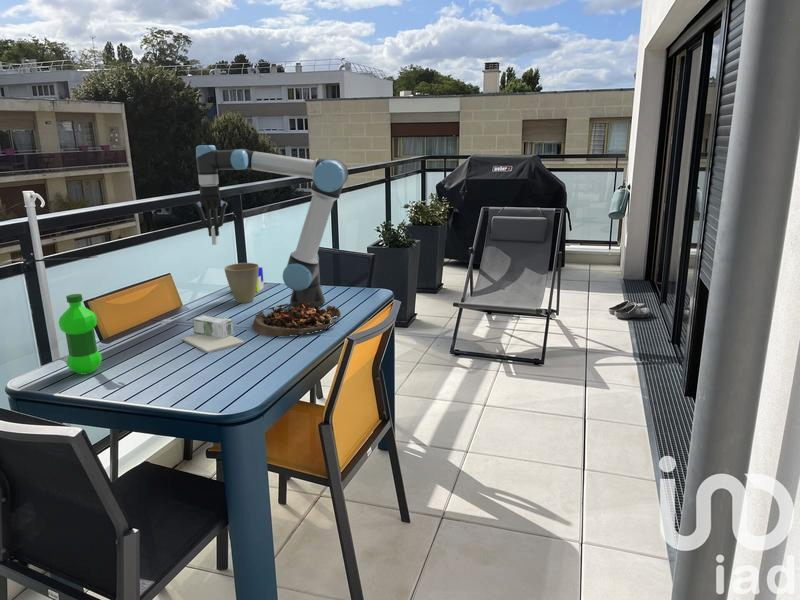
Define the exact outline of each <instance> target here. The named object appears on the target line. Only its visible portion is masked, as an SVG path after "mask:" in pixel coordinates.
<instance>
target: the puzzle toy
mask: <svg viewBox="0 0 800 600" xmlns="http://www.w3.org/2000/svg"><path fill="white" fill-rule="evenodd" d="M263 288H265V285H264V270H263V267H260V266H259V270H258V281H257V287H256V292H255V293H259V292H260V291H261V290H262V289H263Z"/></svg>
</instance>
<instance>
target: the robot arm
mask: <svg viewBox="0 0 800 600" xmlns="http://www.w3.org/2000/svg"><path fill="white" fill-rule="evenodd" d="M195 159H196V165H197V166H196V167H197V175H198V176H197V177H198V184H199V185H200V186H199V196H200V197H199V201H198V202H195V203H194V204H193V206H194V207H195V209H196V210H197V213H198V215H199V218H200V221H201V224H202V227H203V228H207V229H208V230H207V231H208V236H209V237H211V245H212V246H216V245H218V243H219V242H218V236H220V230H219V228H221V227H223V225H224V221H225V220H224V219H225V213H226V208H227V206H228V202H227V201H224V200H223V199H222V197H221V194H220V193H221V192H220V186H219V184H220V183H219V173H218V171H220V170H221V171H222V170H226V171H227V170H228V171H231V170H232V171H233V170H236V171H240V170H254V171H259V172H265V173H266V172H267V173H273V174H278V175H286V176H291V177H292V176H293V177H297V178H303V179H304V178H305V179H311V180H312V183H311V185H310V186H311V187H310V191H311V192H312V196H311V201H310V203H309V206H308V209H307V211H306V212H307V213H306V215H305V219H304V222H303V226H302V229H301V232H300V235H299V238H298V243H297V246H296V248H295V250H293V251H292V252H291V253H290V254H289V257H288V261H287V263H286V266H285V267H284V269H283V272H282V281H283V282H284V284H285V286H286V287H288V288H289V289H290V290H292V291H291V295H290V299H289V306H290V308H291V307H294V308H295V307H296V306H297V305H299V304H300V303H301V302H310V305H311V306H312V309H313V308H314V307H315V306H314V305H316V304H318V303H322V306H324V305H325V304H326V299H325V295H324V293H323V290H322V288H321V277H320V262H319V261H320V258H319V254H318V252H319V248H320V246H321V243H322V241H323V240H322V239H323V237H324V233H325V230H326V228H327V227H326V226H327V223H328V220H329V217H330V214H331V211H332V208H333V206H334V202H335V201H337V200H339V198H340V196H341V192H342V190H343V186H344V185H345V184H346V182H347V180H348V178H349V170H348V168H347V165H346V164H345V163H344V162H343V161H341V160H340V159H336V158H318V157H317V158H315V159H308V158H301V157H294V156H287V155H281V154H274V153H268V152H260V151H254V150H249V149H246V148H238V149H226V150H225V149H224V150H223V149H222V150H218V149H217V148H216V146H215V145H213V144H209V145H208V144H206V145H204V144H203V145H197V146H196V147H195ZM202 206H203V208H205V213H204V211H203V208H202ZM219 206H221V208H220V213H219V216H218V207H219ZM205 214H206V215H205ZM218 217H219V218H218ZM212 218H213V220H212ZM212 221H213V222H212ZM324 303H325V304H324ZM323 304H324V305H323ZM322 306H321V305H320V307H322ZM301 307H302V306H301ZM304 307H305V305H304Z"/></svg>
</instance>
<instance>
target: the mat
mask: <svg viewBox="0 0 800 600" xmlns="http://www.w3.org/2000/svg"><path fill="white" fill-rule="evenodd" d="M181 339H182V341H183V342H185V343H187V344H189V345H191V346H192V347H195V348H197V349H199V350H201V351H202V352H204V353H207V354H211V353H215V352H218V351H221V350H225V349H228V348H232V347H236V346H237V347H238V346H240V345H244V344H245V341H244V340H242V339H240V338H238V337H236V336H233V335H232V334H231V335H229V336H227V337H224V338H219V337H213V336H208V335H202V334H196V333H195V334H193V335H189V336H185V337H182V338H181Z"/></svg>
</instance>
